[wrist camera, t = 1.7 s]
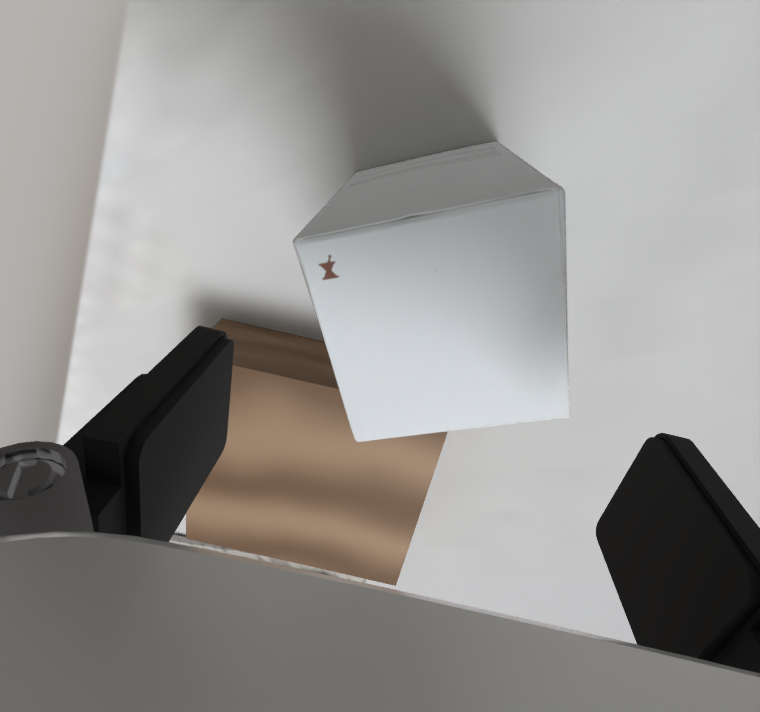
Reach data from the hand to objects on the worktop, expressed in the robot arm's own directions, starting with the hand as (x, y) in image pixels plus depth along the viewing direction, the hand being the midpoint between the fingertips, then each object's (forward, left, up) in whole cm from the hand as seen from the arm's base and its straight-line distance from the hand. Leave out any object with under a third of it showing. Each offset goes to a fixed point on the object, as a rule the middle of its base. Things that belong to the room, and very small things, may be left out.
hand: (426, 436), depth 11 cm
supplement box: (-1, 0, -17) cm, 17 cm away
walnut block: (+14, -4, -17) cm, 23 cm away
